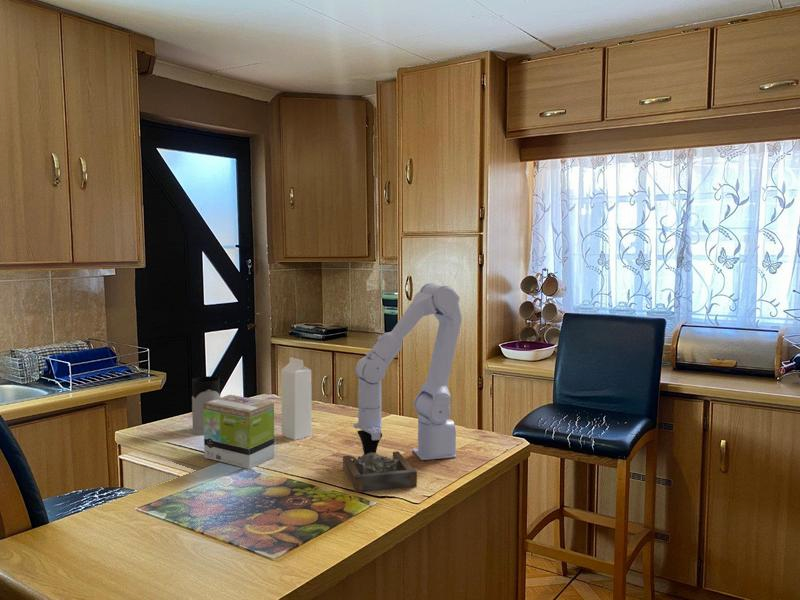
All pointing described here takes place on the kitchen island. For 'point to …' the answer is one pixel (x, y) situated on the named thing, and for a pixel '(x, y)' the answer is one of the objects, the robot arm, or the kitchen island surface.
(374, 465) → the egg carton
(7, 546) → the kitchen island surface
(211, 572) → the kitchen island surface
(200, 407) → the glass holder
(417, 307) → the robot arm
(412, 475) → the dock
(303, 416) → the milk
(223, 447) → the tea box
